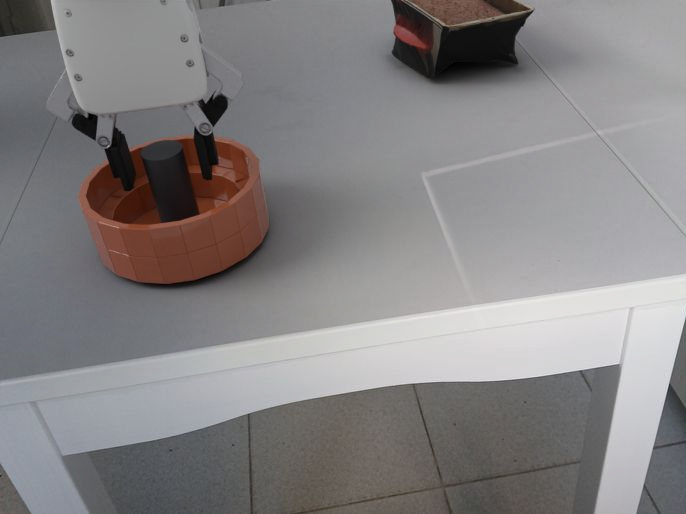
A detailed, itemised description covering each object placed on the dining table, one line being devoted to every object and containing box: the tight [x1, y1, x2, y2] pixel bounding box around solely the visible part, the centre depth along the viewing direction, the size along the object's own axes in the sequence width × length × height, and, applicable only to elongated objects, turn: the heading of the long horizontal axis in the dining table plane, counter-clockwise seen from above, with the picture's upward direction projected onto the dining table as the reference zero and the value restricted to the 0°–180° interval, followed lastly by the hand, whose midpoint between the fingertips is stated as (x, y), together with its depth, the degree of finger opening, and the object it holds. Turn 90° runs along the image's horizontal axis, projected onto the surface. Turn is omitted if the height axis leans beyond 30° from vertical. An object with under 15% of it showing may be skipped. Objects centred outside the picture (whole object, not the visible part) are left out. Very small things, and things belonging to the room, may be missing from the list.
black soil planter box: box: [390, 0, 535, 80], centre depth 87 cm, size 14×18×10 cm
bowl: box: [77, 134, 270, 285], centre depth 64 cm, size 15×15×6 cm
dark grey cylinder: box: [141, 140, 200, 223], centre depth 63 cm, size 4×4×8 cm
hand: (169, 176), depth 62 cm, fingers open, 6 cm apart
